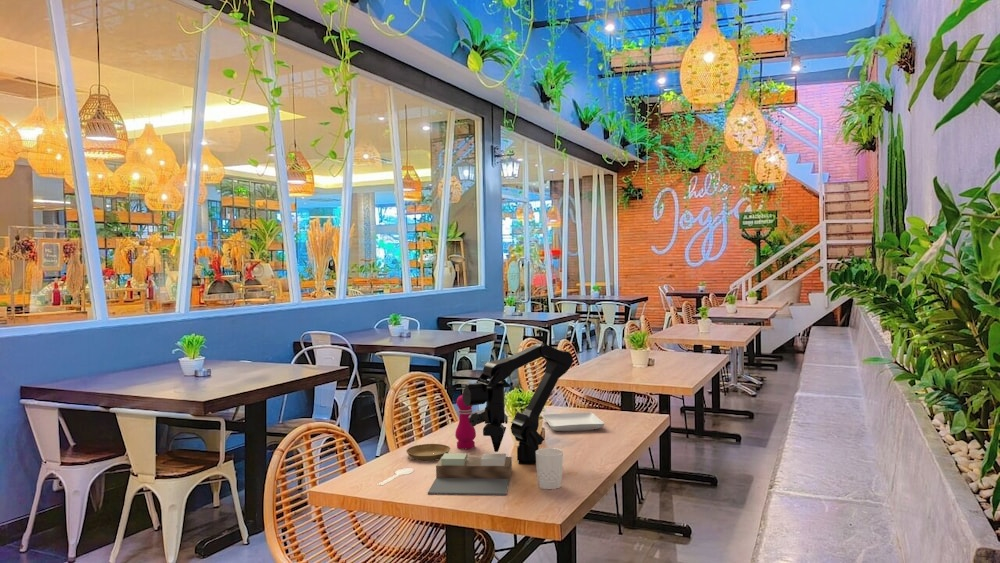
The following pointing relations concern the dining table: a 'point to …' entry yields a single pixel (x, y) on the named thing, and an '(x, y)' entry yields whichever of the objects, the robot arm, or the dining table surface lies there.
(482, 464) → the tile cream
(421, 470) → the dining table surface
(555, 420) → the salad plate
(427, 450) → the plant saucer
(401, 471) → the spoon
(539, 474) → the white cup
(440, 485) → the mat
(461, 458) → the tile sage
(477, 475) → the deck
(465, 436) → the pepper mill
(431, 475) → the dining table surface
